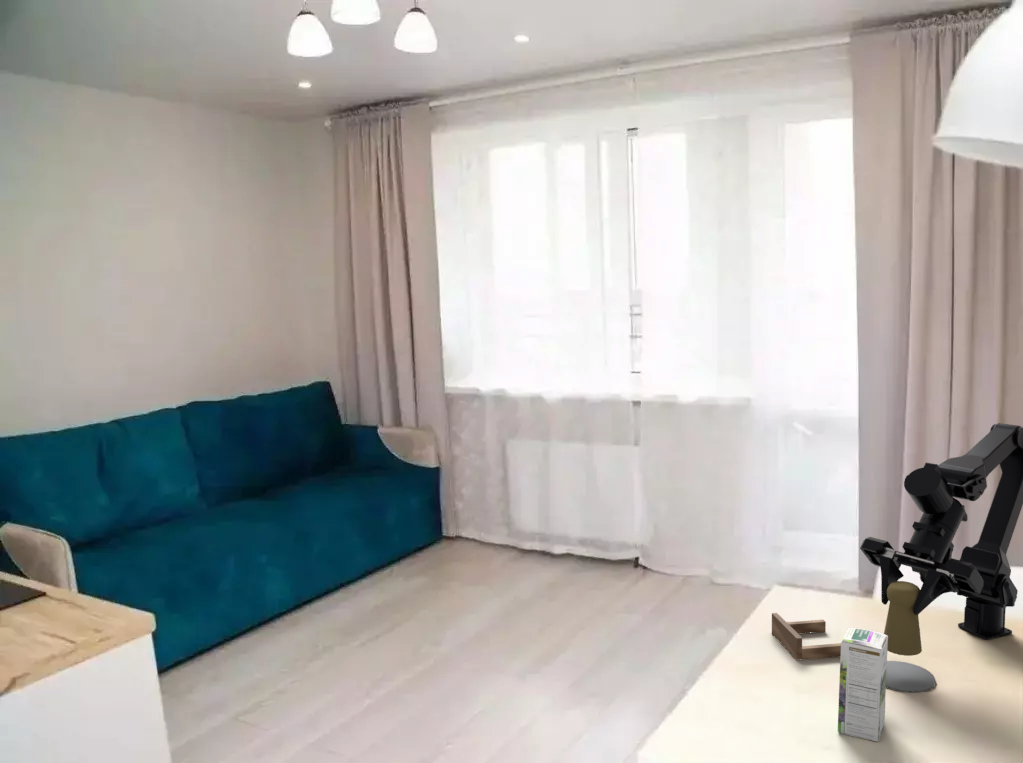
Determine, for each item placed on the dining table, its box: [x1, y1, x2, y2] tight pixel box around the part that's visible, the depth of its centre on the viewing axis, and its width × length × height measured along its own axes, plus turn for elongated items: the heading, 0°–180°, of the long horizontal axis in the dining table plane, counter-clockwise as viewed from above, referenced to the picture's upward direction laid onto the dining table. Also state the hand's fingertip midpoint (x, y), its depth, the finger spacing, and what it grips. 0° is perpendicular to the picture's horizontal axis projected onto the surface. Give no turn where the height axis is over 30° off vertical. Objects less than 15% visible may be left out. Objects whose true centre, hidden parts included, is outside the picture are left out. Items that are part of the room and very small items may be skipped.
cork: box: [883, 580, 923, 657], centre depth 142 cm, size 6×6×11 cm
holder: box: [771, 612, 841, 661], centre depth 156 cm, size 10×11×4 cm
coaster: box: [886, 660, 936, 693], centre depth 143 cm, size 10×10×1 cm
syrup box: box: [837, 627, 888, 742], centre depth 127 cm, size 6×6×14 cm
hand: (899, 608), depth 141 cm, fingers closed on cork, 5 cm apart
